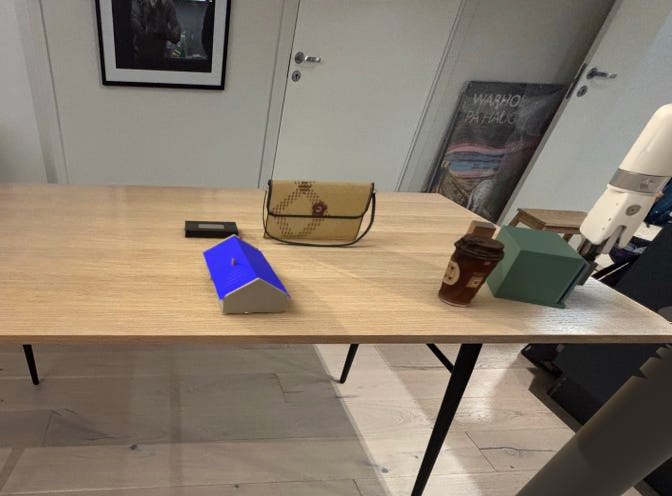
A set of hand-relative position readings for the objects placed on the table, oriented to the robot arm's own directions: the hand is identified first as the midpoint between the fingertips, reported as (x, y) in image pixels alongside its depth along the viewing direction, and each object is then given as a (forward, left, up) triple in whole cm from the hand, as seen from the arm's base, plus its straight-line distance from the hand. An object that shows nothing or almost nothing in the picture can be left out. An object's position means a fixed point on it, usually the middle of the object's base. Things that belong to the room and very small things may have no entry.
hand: (574, 271), depth 84 cm
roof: (+67, +28, -5) cm, 73 cm away
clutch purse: (+56, -5, -5) cm, 56 cm away
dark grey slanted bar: (+1, +6, -3) cm, 7 cm away
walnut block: (+13, -25, -5) cm, 29 cm away
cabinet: (+9, +2, -5) cm, 10 cm away
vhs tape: (+83, +1, -5) cm, 83 cm away
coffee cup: (+24, +15, -5) cm, 29 cm away
